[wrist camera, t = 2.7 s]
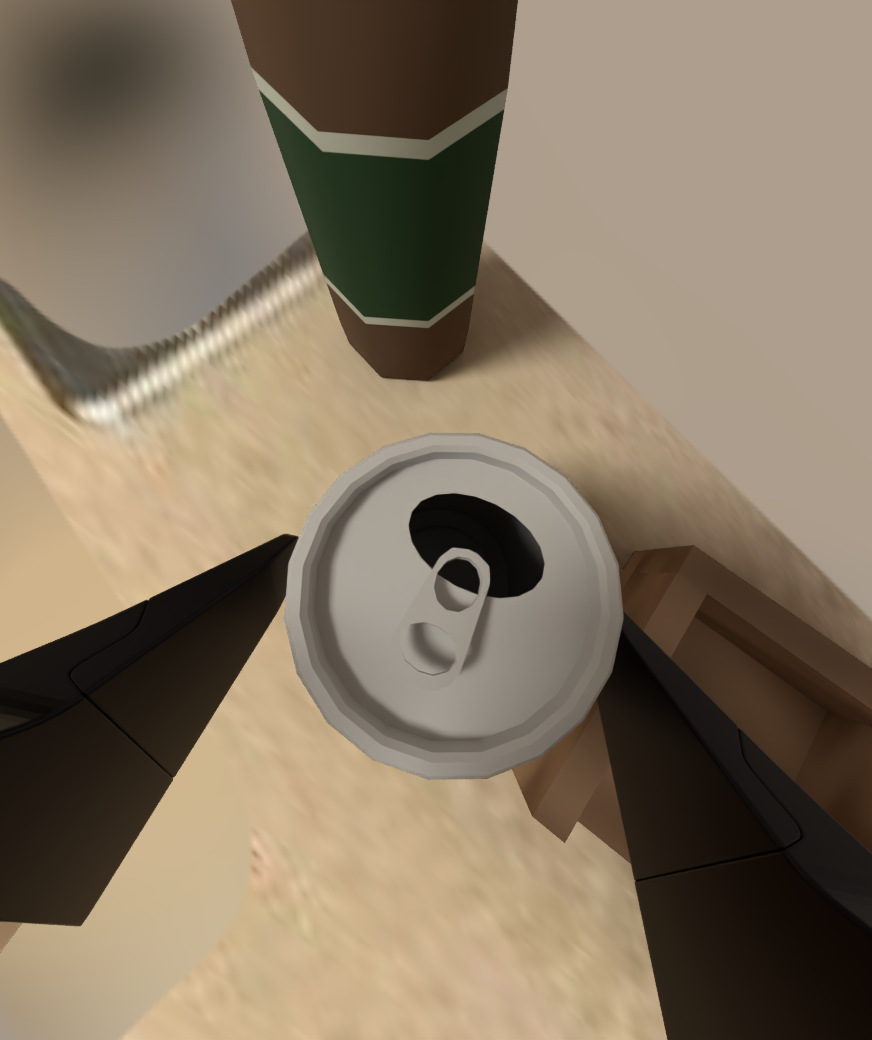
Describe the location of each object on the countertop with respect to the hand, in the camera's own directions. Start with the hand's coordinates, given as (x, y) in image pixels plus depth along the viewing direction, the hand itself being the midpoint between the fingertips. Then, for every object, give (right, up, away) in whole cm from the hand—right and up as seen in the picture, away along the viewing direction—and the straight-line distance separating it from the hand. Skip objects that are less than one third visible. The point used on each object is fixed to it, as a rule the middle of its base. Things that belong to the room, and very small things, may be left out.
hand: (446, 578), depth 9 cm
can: (0, -2, +8) cm, 8 cm away
